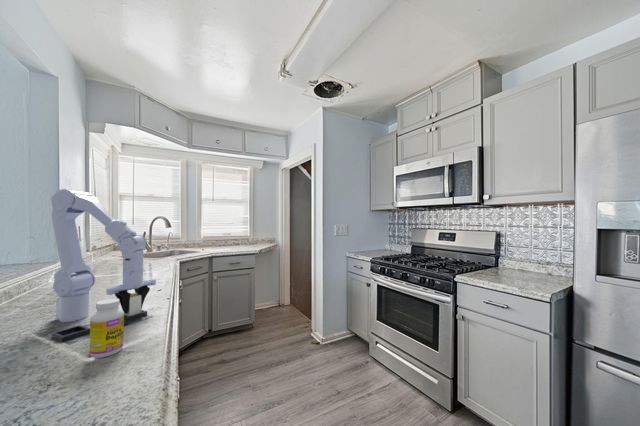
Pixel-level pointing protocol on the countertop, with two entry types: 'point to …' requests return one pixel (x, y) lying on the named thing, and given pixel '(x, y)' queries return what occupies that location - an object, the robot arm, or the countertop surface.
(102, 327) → the supplement bottle
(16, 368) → the countertop surface
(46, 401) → the countertop surface
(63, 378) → the countertop surface
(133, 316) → the panel
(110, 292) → the robot arm
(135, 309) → the white rectangular block
